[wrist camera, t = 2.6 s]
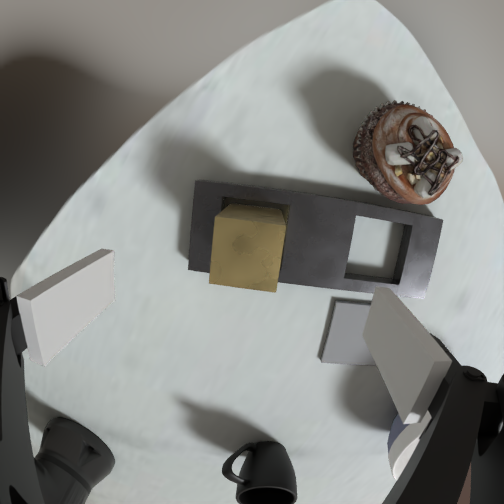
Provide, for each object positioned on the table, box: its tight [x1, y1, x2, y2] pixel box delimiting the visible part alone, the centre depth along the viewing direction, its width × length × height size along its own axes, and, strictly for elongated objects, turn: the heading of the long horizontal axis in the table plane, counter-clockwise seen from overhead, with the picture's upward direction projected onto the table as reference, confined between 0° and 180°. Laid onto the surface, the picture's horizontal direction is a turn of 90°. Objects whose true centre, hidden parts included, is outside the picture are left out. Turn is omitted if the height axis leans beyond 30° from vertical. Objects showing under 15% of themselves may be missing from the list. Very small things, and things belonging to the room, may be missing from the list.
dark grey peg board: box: [188, 180, 443, 298], centre depth 31 cm, size 26×9×2 cm, turn 83°
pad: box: [321, 300, 376, 365], centre depth 34 cm, size 8×8×1 cm
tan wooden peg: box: [209, 203, 286, 292], centre depth 27 cm, size 5×5×10 cm
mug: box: [222, 441, 297, 504], centre depth 35 cm, size 8×12×10 cm
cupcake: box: [353, 100, 463, 205], centre depth 24 cm, size 10×10×10 cm
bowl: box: [387, 411, 431, 480], centre depth 33 cm, size 16×16×10 cm
